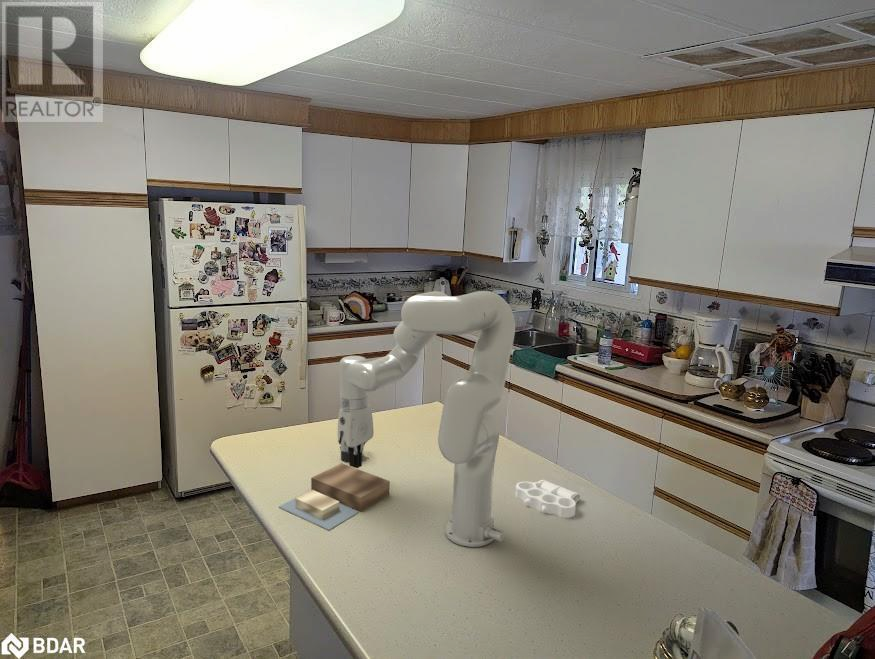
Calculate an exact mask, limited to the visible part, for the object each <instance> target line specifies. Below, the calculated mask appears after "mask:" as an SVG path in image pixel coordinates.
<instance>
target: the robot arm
mask: <svg viewBox="0 0 875 659" xmlns="http://www.w3.org/2000/svg"><path fill="white" fill-rule="evenodd" d="M400 312H401V313H400V314H401V315H400V318H401V321H400V322H399V324H398V325H397V326H396V327H395V328H394V330H393V339H394V341H395V342H396V345H395V346H394V347H393V348H392V350H391V351H389V353H387V354H386V355H385V356H382V357H379V358H377V359H374V360H370V361H368V360H367V358H366V357H364V356H361V355H348V356H344V357H342V358H341V359H340V361H339V398H340V399H339V401H340V402H339V404H338V405H339V408H340V409H339V411H338V419H337V442H338V445H340V446H339V451H340V452H341V451H343V452H348V453H349V462H348V463H349V464H348V466H350V467H353V468H356V469H359V468H361V467H362V466H363V454H362V453H361V452H364V448H365V444H366V443H367V442H368V441H370V440H371V439H373V437H374V430H375V429H374V418H373V411H372V407H371V404H370V403H369V392H376V391H378V390H381V389H383V388H385V387H388V386H390V385H393V384H396V383H397V382H399V381H401V380H402V379H403V378H404V377H405V376H406V375H407V374H408V373H409V371H410V370H411V369H412V368H414V366H416V364H417V362H418V361H419V359H420V356H421V354H422V351H423V349H425V347H427V345H429V343H430V342H431V341H432V340H433V338H435V337H436V336H437V335H453V336H462V335H468V334H471V333H474V332H477V331H479V334H478V338H477V340H476V342H475V344H474V347H473V351H472V356H471V357H472V358H471V362H470V366H469V370H468V372H467V373H466V374H464V375H463V376H461V377H458V378H457V379H456V380H455V381H453V382H452V383H451V385H450V386H449V388H448V389H447V392H446V394H445V396H444V400H443V407H442V412H441V417H440V421H439V422H440V424H439V429H438V435H437V443H438V448H439V451H440V453H441V455H442V456H443V457H444V459H446V461H448V462H449V463H451V464H454V468H453V487H452V488H453V490H452V509H451V519H450V520H449V521H448V522H446V524H445V527H444V533H445V536H446V538H448V539H449V540H450V541H451V542H452V543H455V544H457V545H460V546H462V547H469V548H476V547H477V548H478V547H479V548H480V547H483V546H488V545H489V544H491V543H492V542H494V540H495V541H498V542H500V543H501V542H502V541H503V539H504V536H505V535H504V532H505V531H504V528H502V527H500V526H497V525H496V524H495V518H494V517H492V505H493V504H492V501H493V490H494V489H493V487H494V473H495V462H496V455H497V450H498V446H499V445H498V444H499V440H500V426H499V423H498V422H499V421H498V419H497V418H496V417H495V415H494V414H493V413H491V412H490V411H491V410H492V409H493V408H495V407H496V406H497V405H499V404H500V402H501V400H502V398H503V394H504V389H505V384H506V380H507V375H508V370H509V364H510V359H511V354H512V353H511V352H512V349H513V346H514V340H515V334H516V320H515V315H514V313H513V310H512V308H511V306H510V305H509V303H508V302H507V301H506V300H505V299H504V297H502V296H501V295H499V294H498V293H495V292H493V291H491V290H490V291H488V290H480V291H479V290H478V291H473V292H471V293H466V294H462V295H454V296H451V295H450V296H449V295H447V294H446V293H445V292H442V291H437V290H435V291H434V290H433V291H429V292H428V291H427V292H424V293H418V294H415V295H412V296H410V297H409V298H407V300H406V301H404V303H403V305H402V307H401V311H400Z"/></svg>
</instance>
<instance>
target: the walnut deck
mask: <svg viewBox="0 0 875 659" xmlns="http://www.w3.org/2000/svg"><path fill="white" fill-rule="evenodd" d="M310 478H311V479H310V480H311V482H310V484H311V485H310V487H311V488H310V491H311V490H314V491H317V492H319V493H321V494H324V495H326V496H328V497H330V498H333V499H335V500H337V501H339V503H340V504H342V505H345V506H347V507H350V508H353V509H354V510H357V511H359V513H360V512H362V510H363V511H365V510H366V509H367V507H368V508H369V507H371V506H372V505H374V504H376V503H377V502H379V501H381V500H382V498H383V499H384V498H386V497H387V495H388V496H389V495H390V487H391V486H390V485H391V484H390V483H391V481H390V480H387V479H385V478H382V477H379V476H378V475H374V474H371V473H369V472H366V471H364V470H361V469H359V468H355V467H352V466H350V465H349V464H345V463H341V462H340V463H339V464H337V465H334V466H333V467H331V468H328V469H327V470H324V471H323V472H321V473H318V474H316V475H315V476H314V475H313V476H312V477H310Z"/></svg>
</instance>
